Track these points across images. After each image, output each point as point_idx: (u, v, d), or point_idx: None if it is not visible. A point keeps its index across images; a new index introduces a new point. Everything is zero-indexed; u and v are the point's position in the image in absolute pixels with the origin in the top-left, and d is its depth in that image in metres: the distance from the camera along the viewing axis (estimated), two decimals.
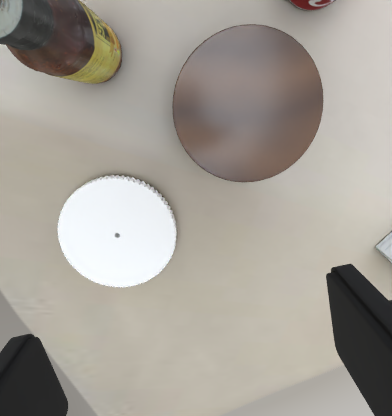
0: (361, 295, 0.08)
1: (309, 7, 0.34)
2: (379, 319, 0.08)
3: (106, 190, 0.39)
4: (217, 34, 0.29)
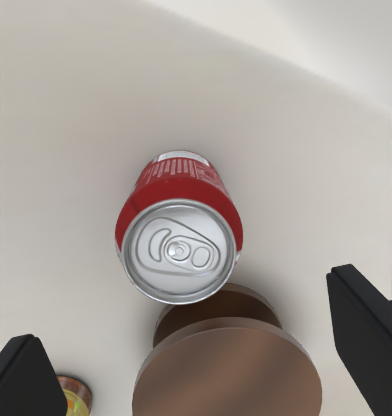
0: (361, 295, 0.08)
1: None
2: (379, 319, 0.08)
3: None
4: (139, 382, 0.24)
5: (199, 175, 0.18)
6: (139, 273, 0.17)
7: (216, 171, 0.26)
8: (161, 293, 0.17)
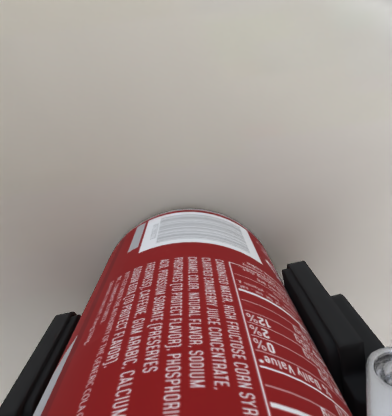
0: (306, 289, 0.09)
1: None
2: (317, 310, 0.08)
3: None
4: None
5: (271, 393, 0.05)
6: None
7: (267, 255, 0.12)
8: None
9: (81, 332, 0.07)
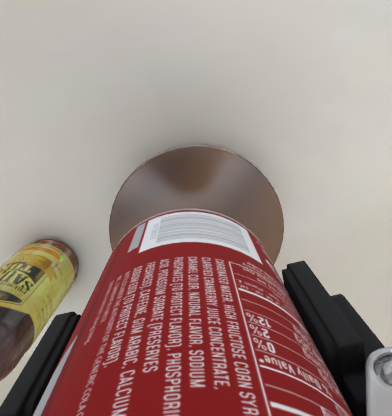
0: (306, 289, 0.09)
1: None
2: (317, 310, 0.08)
3: None
4: (115, 203, 0.26)
5: (272, 393, 0.05)
6: None
7: (267, 254, 0.12)
8: None
9: (81, 332, 0.07)
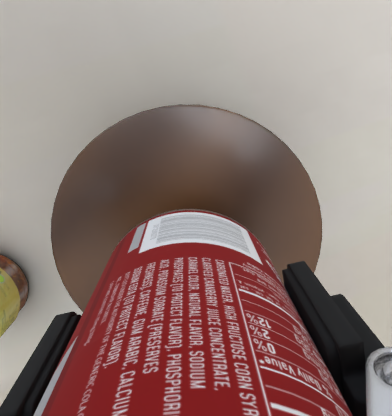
0: (306, 289, 0.09)
1: None
2: (317, 310, 0.08)
3: None
4: (58, 198, 0.17)
5: (272, 394, 0.05)
6: None
7: (267, 255, 0.12)
8: None
9: (81, 332, 0.07)
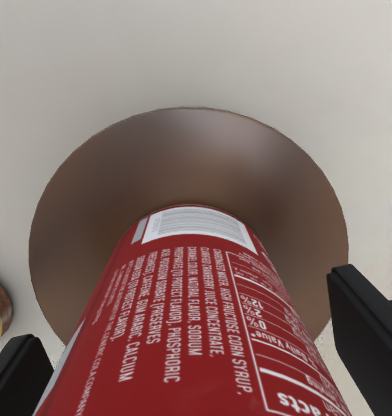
0: (361, 295, 0.08)
1: None
2: (379, 319, 0.08)
3: None
4: (36, 218, 0.14)
5: (261, 361, 0.05)
6: None
7: (263, 247, 0.13)
8: None
9: (89, 314, 0.08)
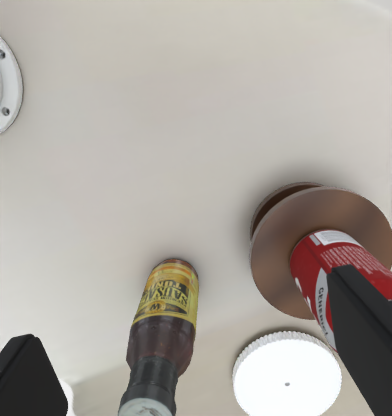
0: (361, 295, 0.08)
1: None
2: (379, 319, 0.08)
3: (255, 361, 0.43)
4: (258, 234, 0.33)
5: (386, 272, 0.24)
6: None
7: None
8: None
9: (323, 266, 0.26)
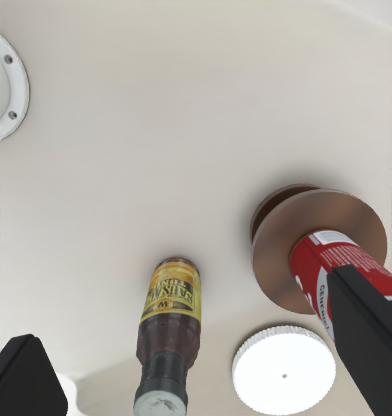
0: (361, 295, 0.08)
1: None
2: (379, 319, 0.08)
3: (254, 355, 0.45)
4: (260, 234, 0.34)
5: (382, 270, 0.26)
6: None
7: None
8: None
9: (323, 265, 0.28)
